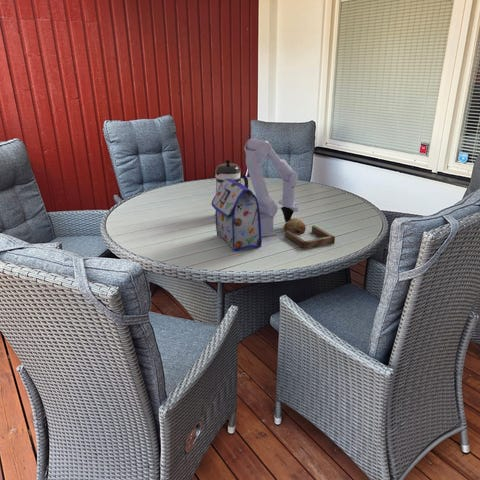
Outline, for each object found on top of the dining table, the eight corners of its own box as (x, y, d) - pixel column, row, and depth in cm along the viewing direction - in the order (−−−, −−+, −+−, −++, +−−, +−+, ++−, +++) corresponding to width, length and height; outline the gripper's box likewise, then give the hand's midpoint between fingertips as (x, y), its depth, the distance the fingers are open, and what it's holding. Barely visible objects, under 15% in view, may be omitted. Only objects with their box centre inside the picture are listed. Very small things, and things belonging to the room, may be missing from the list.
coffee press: (242, 222, 200) (241, 162, 189) (211, 220, 203) (209, 161, 192) (248, 211, 216) (248, 156, 204) (219, 209, 219) (218, 155, 207)
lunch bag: (210, 235, 184) (208, 178, 174) (242, 230, 190) (242, 175, 180) (228, 254, 165) (227, 191, 155) (264, 247, 171) (265, 187, 161)
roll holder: (303, 249, 169) (303, 242, 168) (285, 236, 182) (285, 230, 181) (334, 243, 175) (335, 236, 174) (314, 231, 188) (314, 225, 187)
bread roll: (286, 241, 187) (289, 229, 181) (279, 226, 193) (282, 214, 187) (306, 239, 189) (310, 227, 183) (298, 223, 196) (302, 212, 190)
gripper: (304, 197, 184) (302, 225, 189) (287, 190, 196) (286, 216, 201) (291, 199, 181) (289, 227, 186) (275, 191, 193) (274, 218, 199)
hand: (287, 221), depth 194 cm, fingers closed
